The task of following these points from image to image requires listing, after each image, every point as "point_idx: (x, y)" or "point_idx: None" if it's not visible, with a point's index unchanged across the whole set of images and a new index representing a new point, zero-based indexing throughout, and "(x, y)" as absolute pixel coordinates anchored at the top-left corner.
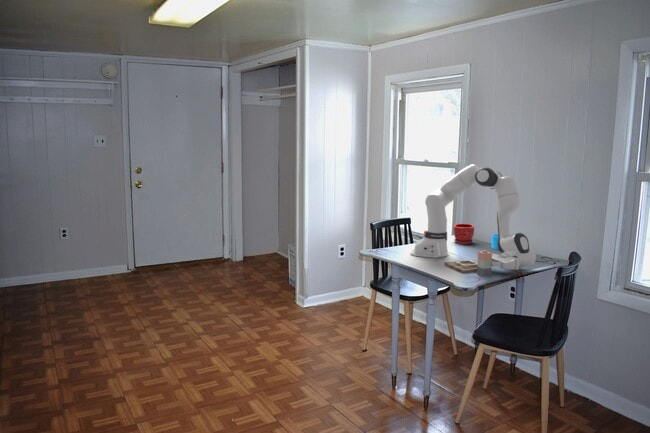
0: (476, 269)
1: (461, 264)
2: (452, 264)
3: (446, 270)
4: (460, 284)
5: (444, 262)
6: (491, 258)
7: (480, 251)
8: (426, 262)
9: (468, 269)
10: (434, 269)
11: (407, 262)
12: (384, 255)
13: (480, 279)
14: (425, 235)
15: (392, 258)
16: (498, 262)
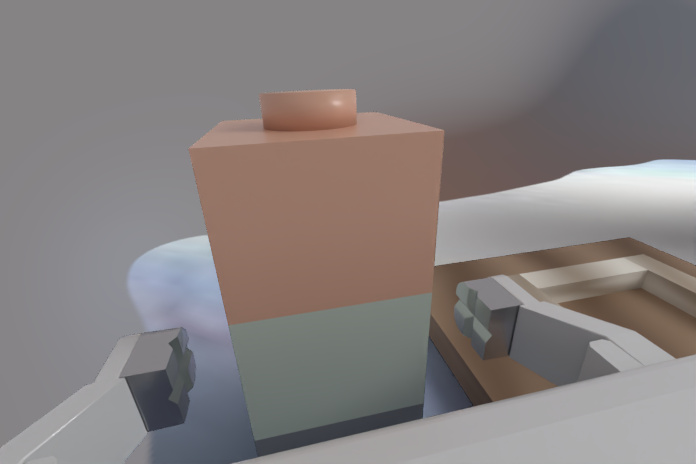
0: (469, 374)
1: (546, 271)
2: (584, 257)
3: (466, 244)
4: (180, 244)
5: (627, 238)
6: (220, 280)
7: (386, 116)
8: (632, 214)
9: (435, 304)
10: (477, 218)
11: (580, 183)
12: (664, 162)
13: (192, 344)
14: None
15: (626, 168)
16: (41, 457)
